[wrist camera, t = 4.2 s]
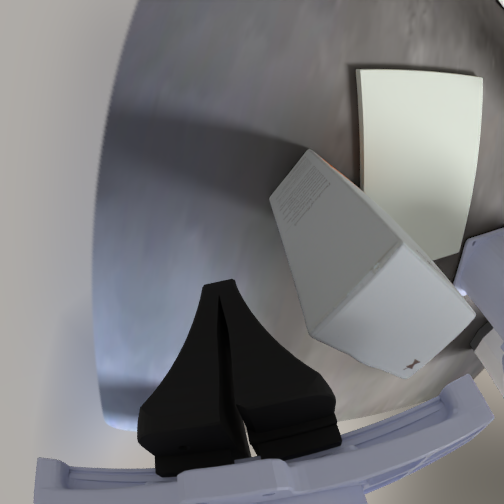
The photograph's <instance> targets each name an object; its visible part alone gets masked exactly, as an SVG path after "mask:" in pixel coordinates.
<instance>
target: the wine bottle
mask: <svg viewBox="0 0 504 504" xmlns="http://www.w3.org/2000/svg"><path fill="white" fill-rule="evenodd" d="M503 342H504V341H503V340H502V338H501V337H500V336H499V334H498V333H497V332H496V330H495V329H494V328H493V326H492V325H491V324H490V322H489V321H488V322H487V323H486V324H485V325H484V326H483V327H482V328H481V329H480V330H478V332H477V333H476V335H475V337H474V338H473V340H472V342H471V343H470V345H471V347H472V349H473V350H474V352H475V353H476V355H477V356H478V358H479V359H480V361H481V363H482V364H483V366H484V367H485V369H486V370H487V372H488V373H489V375H490V377H491V378H492V380H493V381H494V383H495V385H496V386H497V388H498V390H499V391H500V393H501V395H502V396H503V398H504V372H503V365H502V357H503V354H504V352H503V350H502V349H501V348H500V347H501V345H502V344H503Z"/></svg>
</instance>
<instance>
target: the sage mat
mask: <svg viewBox="0 0 504 504" xmlns="http://www.w3.org/2000/svg"><path fill="white" fill-rule="evenodd" d="M356 81H357V95H358V112H359V137H360V189H361V190H362V191H363V192H364V193H365V194H367V195H368V196H369V197H370V198H371V199H372V200H373V201H374V202H375V203H376V204H378V205H379V206H380V207H381V208H382V209H383V210H384V211H385V212H386V213H387V214H388V215H389V216H390V217H391V218H392V219H393V220H394V221H395V222H396V223H397V224H398V225H399V226H400V227H401V228H402V229H403V230H404V231H405V232H406V233H407V234H408V235H409V236H410V237H411V238H412V239H413V240H414V241H415V243H416V244H417V245H418V246H419V247H420V248H421V249H422V250H423V251H424V252H425V253H426V254H427V255H428V257H429V258H430V259H431V260H432V261H433V260H436V259H439V258H443V257H446V256H449V255H452V254H455V253H458V252H459V250H460V247H461V243H462V239H463V235H464V231H465V226H466V222H467V217H468V213H469V208H470V203H471V197H472V192H473V186H474V180H475V174H476V167H477V159H478V151H479V142H480V131H481V118H482V96H483V78H481V77H477V76H471V75H463V74H455V73H445V72H435V71H421V70H401V69H356Z"/></svg>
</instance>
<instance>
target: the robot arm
mask: <svg viewBox="0 0 504 504" xmlns="http://www.w3.org/2000/svg"><path fill="white" fill-rule="evenodd" d="M453 285H454V287H455V288H456V289H457V290H458V291H459V293H460V294H461V295H462V296H464V295H468V296H469V297H470V298H471V300H472V301H473V302H474V303H475V305H476V306H477V307H478V308H479V310H480V311H481V312H482V313H483V315H484V316H485V317H486V318H487V320H488V321H489V322H490V324H491V325H492V326H493V328H494V329H495V330H496V332H497V333H498V334H499V336H500V337H501V338H502V340H503V341H504V228H500V229H497V230H494V231H491V232H488V233H485V234H482V235H478V236H475V237H472V238H469V239H467V241H466V242H465V245H464V249H463V253H462V256H461V260H460V263H459V267H458V270H457V273H456V277H455V280H454V283H453ZM500 348H501V349H502V350H503V352H504V342H503V344H502V345H501V347H500ZM502 365H503V372H504V354H503V357H502ZM335 405H336V399H335V396H334V394H333V392H332V390H331V388H330V387H329V385H328V384H327V382H326V381H325V380H324V379H323V377H322V376H321V375H320V374H319V373H318V372H317V371H315V370H313V369H312V368H310V367H309V366H307V365H306V364H304V363H303V362H301V361H300V360H299V359H297V358H296V357H295V356H293V355H292V354H291V353H290V352H289V351H287V350H286V349H285V348H284V347H283V346H281V345H280V344H279V343H278V342H277V341H276V340H275V339H274V338H273V337H272V336H271V335H270V334H269V333H268V332H267V331H266V329H265V328H264V327H263V326H262V325H261V324H260V322H259V321H258V320H257V319H256V317H255V316H254V315H253V313H252V312H251V311H250V309H249V308H248V306H247V305H246V303H245V301H244V300H243V298H242V296H241V294H240V293H239V290H238V288H237V286H236V282H235V280H233V279H229V280H225V281H220V282H215V283H211V284H206V285H204V286H203V287H202V293H201V298H200V301H199V305H198V309H197V312H196V315H195V318H194V321H193V324H192V326H191V329H190V331H189V334H188V336H187V338H186V341H185V343H184V345H183V347H182V349H181V351H180V353H179V355H178V357H177V358H176V360H175V362H174V364H173V365H172V367H171V369H170V370H169V372H168V373H167V375H166V376H165V378H164V379H163V380H162V382H161V383H160V385H159V386H158V387H157V389H156V390H155V391H154V392H153V394H152V395H151V396H150V397H149V398H148V399H147V401H146V402H145V403H144V404H143V405H142V406H141V407H140V412H139V417H138V427H137V439H138V442H139V444H140V445H141V446H142V447H144V448H145V449H146V450H148V451H149V452H150V453H152V454H153V455H154V456H155V468H148V469H147V468H146V469H106V468H86V467H72V466H68V465H67V464H66V463H64V462H62V461H60V460H56V459H49V458H41V457H39V458H38V459H37V467H36V477H35V489H34V504H367V501H366V498H365V495H364V494H367V493H369V492H372V491H374V490H377V489H379V488H381V487H383V486H386V485H388V484H391V483H393V482H395V481H397V480H399V479H401V478H403V477H406V476H408V475H410V474H411V473H414V472H416V471H418V470H420V469H422V468H423V467H425V466H427V465H429V464H431V463H433V462H434V461H436V460H438V459H440V458H442V457H444V456H445V455H447V454H449V453H451V452H452V451H454V450H456V449H458V448H459V447H461V446H462V445H464V444H466V443H467V442H469V441H471V440H472V439H473V438H474V437H475V436H476V435H477V434H479V433H480V432H481V431H482V430H483V429H484V428H485V427H486V426H487V425H488V424H489V423H490V422H491V421H493V420H494V415H493V413H492V411H491V410H490V408H489V406H488V404H487V403H486V401H485V399H484V397H483V396H482V394H481V392H480V391H479V389H478V387H477V386H476V384H475V382H474V380H473V379H472V377H471V375H470V374H466V375H464V376H463V377H461V378H459V379H457V380H455V381H453V382H451V383H450V384H448V385H447V386H445V387H444V388H443V389H442V391H441V393H440V395H439V396H437V397H435V398H433V399H431V400H429V401H426V402H424V403H422V404H420V405H418V406H416V407H413V408H411V409H409V410H406V411H404V412H402V413H399V414H397V415H395V416H392V417H390V418H387V419H384V420H382V421H379V422H377V423H374V424H371V425H369V426H366V427H363V428H360V429H357V430H355V431H351V432H348V433H345V434H342V435H340V432H339V429H338V426H337V419H336V416H335V414H334V411H335ZM243 421H244V423H245V425H246V427H247V432H248V437H249V442H250V445H252V447H253V449H254V450H255V452H256V454H257V456H255V457H251V454H250V450H249V445H248V441H247V437H246V432H245V428H244V423H243Z"/></svg>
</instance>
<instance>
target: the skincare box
mask: <svg viewBox="0 0 504 504" xmlns="http://www.w3.org/2000/svg"><path fill="white" fill-rule="evenodd" d="M269 201H270V204H271V207H272V210H273V213H274V217H275V220H276V223H277V226H278V230H279V233H280V236H281V239H282V243H283V246H284V250H285V253H286V256H287V259H288V263H289V266H290V269H291V273H292V276H293V280H294V283H295V287H296V290H297V293H298V297H299V301H300V304H301V308H302V311H303V315H304V319H305V322H306V326H307V329H308V333H309V335H310V336H311V337H312V338H314V339H316V340H318V341H320V342H322V343H324V344H326V345H329V346H331V347H333V348H335V349H337V350H339V351H341V352H344V353H346V354H348V355H350V356H351V357H353V358H354V359H356V360H357V361H359V362H361V363H363V364H365V365H367V366H370V367H373V368H378V369H381V370H383V371H385V372H388V373H390V374H393V375H395V376H397V377H400V378H402V379H408V378H409V377H411V376H412V375H413V374H414V373H416V372H417V371H418V370H419V369H420V368H422V367H423V366H424V365H425V364H426V363H428V362H429V361H430V360H431V359H432V358H433V357H435V356H436V355H437V354H438V353H439V352H440V351H442V350H443V349H444V348H445V347H446V346H447V345H448V344H449V343H450V342H451V341H453V340H454V339H455V338H456V337H457V336H458V335H459V334H460V333H461V332H462V331H463V330H464V329H465V328H466V327H467V326H468V325H469V324H470V322H471V321H472V320H473V319H474V318H475V316H476V313H475V312H474V310H473V309H472V308H471V307H470V305H469V304H468V303H467V301H466V300H465V299H464V298H463V296H462V295H461V294H460V293H459V291H458V290H457V289H456V288H455V287H454V285H453V284H452V283H451V282H450V281H449V279H448V278H447V277H446V276H445V275H444V274H443V272H442V271H441V270H440V269H439V268H438V267H437V265H436V264H435V263H434V262H433V261H432V260H431V259H430V258H429V257H428V255H427V254H426V253H425V252H424V251H423V250H422V249H421V248H420V247H419V246H418V245H417V244H416V243H415V241H414V240H413V239H412V238H411V237H410V236H409V235H408V234H407V233H406V232H405V231H404V230H403V229H402V228H401V227H400V226H399V225H398V224H397V223H396V222H395V221H394V220H393V219H392V218H391V217H390V216H389V215H388V214H387V213H386V212H385V211H384V210H383V209H382V208H381V207H380V206H379V205H378V204H376V203H375V202H374V201H373V200H372V199H371V198H370V197H369V196H368V195H367V194H365V193H364V192H363V191H362V190H361V189H360V188H358V187H357V186H356V185H355V184H354V183H352V182H351V181H350V180H349V179H348V178H346V177H345V176H344V175H343V174H342V173H340V172H339V171H338V170H337V169H335V168H334V167H333V166H331V165H330V164H329V163H328V162H326V161H325V160H324V159H323V158H321V157H320V156H319V155H318V154H316V153H315V152H314V151H313V150H311V149H308V150H307V151H306V152H305V153H304V155H303V156H302V157H301V158H300V160H299V161H298V162H297V164H296V165H295V166H294V167H293V169H292V170H291V171H290V172H289V174H288V175H287V176H286V177H285V179H284V180H283V181H282V182H281V184H280V185H279V186H278V187H277V189H276V190H275V191H274V192H273V194H272V195H271V196H270V198H269Z"/></svg>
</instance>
